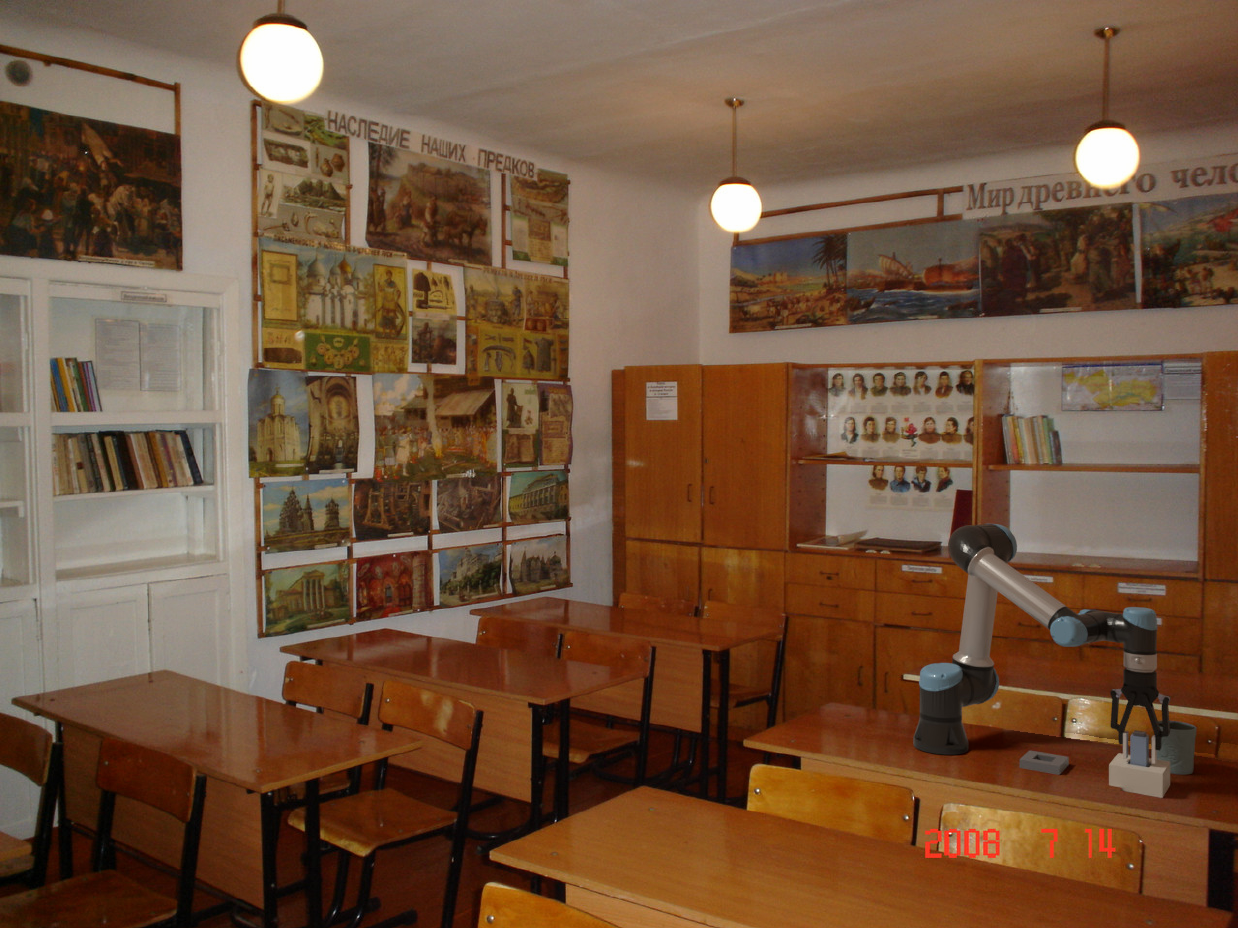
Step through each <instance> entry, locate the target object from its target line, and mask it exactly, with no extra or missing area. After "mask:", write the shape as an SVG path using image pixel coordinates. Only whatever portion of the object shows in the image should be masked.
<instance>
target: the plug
mask: <svg viewBox="0 0 1238 928" xmlns="http://www.w3.org/2000/svg"><path fill="white" fill-rule="evenodd" d="M1149 736H1150V735H1149V734H1147V731H1142V730H1138V729H1137V730H1134V731H1133V732H1132V733H1131V734H1130V737H1129V739H1130V741H1129V742H1130V747H1129V749H1130V751H1129V752H1130V753H1129V755H1130V764H1132V765H1137V766H1143V767H1149V758H1150V756H1149V753H1150V747H1149V745H1150V737H1149Z"/></svg>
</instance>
